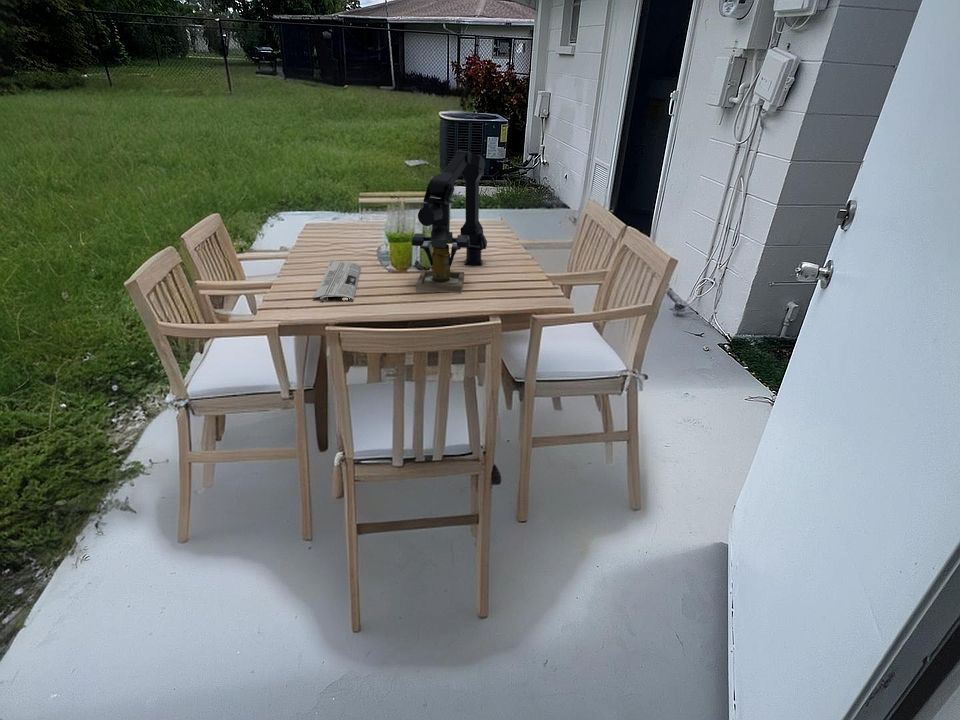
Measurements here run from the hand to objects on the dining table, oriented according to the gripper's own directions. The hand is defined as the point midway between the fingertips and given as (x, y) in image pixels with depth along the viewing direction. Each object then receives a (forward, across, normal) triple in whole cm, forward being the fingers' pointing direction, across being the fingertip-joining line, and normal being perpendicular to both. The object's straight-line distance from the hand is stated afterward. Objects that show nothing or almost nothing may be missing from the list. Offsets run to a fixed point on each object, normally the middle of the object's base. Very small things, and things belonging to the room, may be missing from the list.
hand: (441, 265), depth 191 cm
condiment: (+5, 0, 0) cm, 5 cm away
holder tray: (+7, 0, 0) cm, 7 cm away
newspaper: (+8, -35, -2) cm, 36 cm away
